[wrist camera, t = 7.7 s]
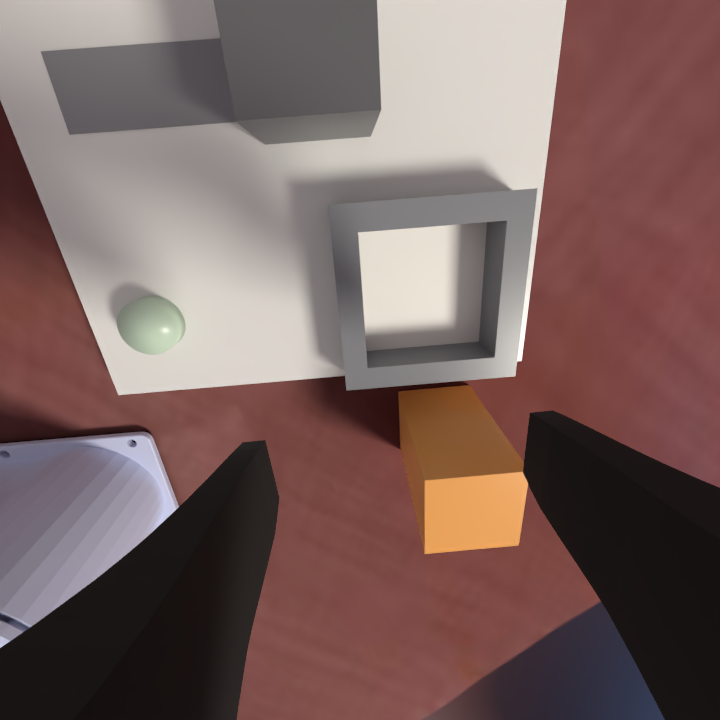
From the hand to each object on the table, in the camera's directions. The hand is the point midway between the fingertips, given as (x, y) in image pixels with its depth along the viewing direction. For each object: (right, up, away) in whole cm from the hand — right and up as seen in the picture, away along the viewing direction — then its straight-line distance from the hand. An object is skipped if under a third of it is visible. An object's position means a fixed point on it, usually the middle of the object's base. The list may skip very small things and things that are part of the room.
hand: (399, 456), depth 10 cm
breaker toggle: (-3, +13, +3) cm, 13 cm away
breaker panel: (-4, +10, +6) cm, 12 cm away
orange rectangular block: (+3, -1, +11) cm, 11 cm away
